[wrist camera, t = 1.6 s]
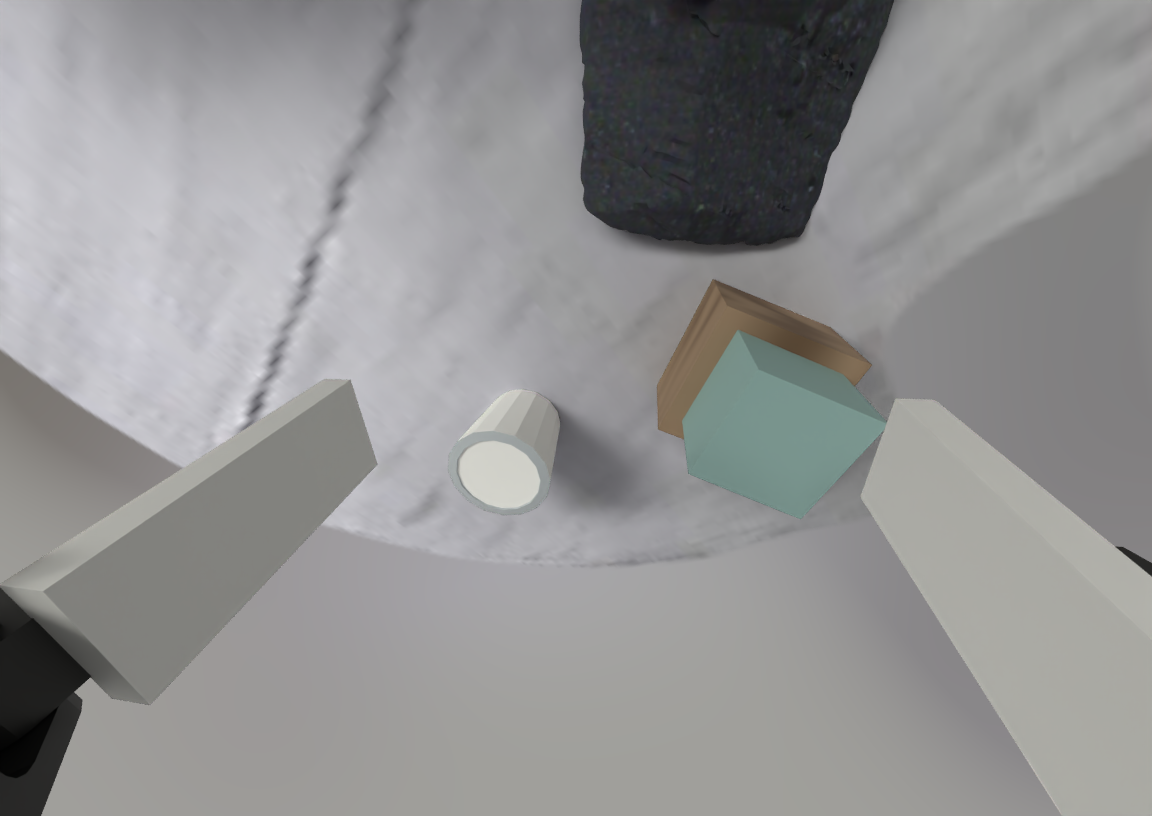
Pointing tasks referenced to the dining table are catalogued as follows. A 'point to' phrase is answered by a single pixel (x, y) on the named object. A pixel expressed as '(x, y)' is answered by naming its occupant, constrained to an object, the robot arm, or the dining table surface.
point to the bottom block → (755, 317)
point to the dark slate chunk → (718, 111)
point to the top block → (776, 426)
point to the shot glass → (508, 454)
